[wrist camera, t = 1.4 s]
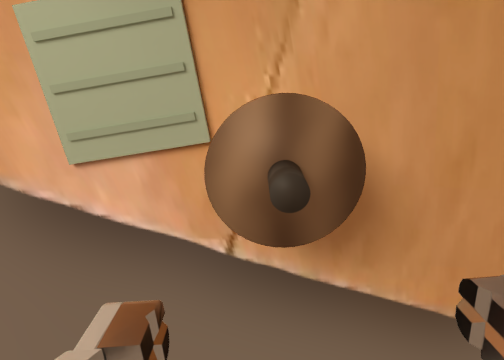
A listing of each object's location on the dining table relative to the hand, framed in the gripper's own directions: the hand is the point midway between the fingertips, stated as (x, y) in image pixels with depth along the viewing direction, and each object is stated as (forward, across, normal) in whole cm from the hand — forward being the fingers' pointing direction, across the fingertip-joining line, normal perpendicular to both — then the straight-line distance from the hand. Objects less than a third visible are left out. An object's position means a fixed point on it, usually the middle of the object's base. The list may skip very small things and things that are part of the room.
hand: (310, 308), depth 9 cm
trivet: (+28, +14, -7) cm, 32 cm away
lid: (+18, -1, +2) cm, 18 cm away
